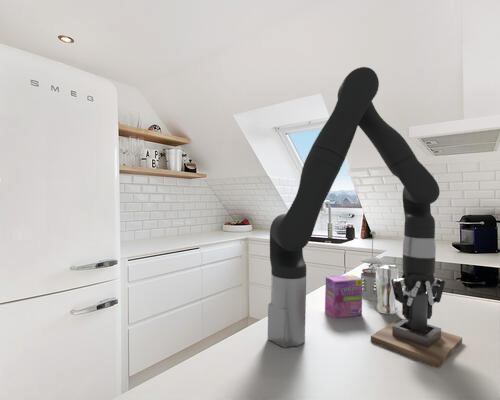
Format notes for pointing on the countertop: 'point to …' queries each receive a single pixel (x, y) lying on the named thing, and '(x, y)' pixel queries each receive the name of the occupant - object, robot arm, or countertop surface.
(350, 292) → the box
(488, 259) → the countertop surface
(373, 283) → the french press
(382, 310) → the beer glass
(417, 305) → the grey rounded cylinder
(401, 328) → the mount
